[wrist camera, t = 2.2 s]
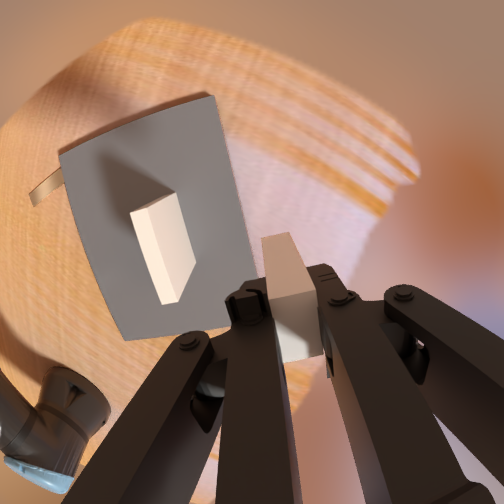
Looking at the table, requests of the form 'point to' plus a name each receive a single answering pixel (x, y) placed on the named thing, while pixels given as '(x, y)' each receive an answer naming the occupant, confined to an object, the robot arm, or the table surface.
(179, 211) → the tile
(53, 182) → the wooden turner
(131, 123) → the slate board
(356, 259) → the table surface
